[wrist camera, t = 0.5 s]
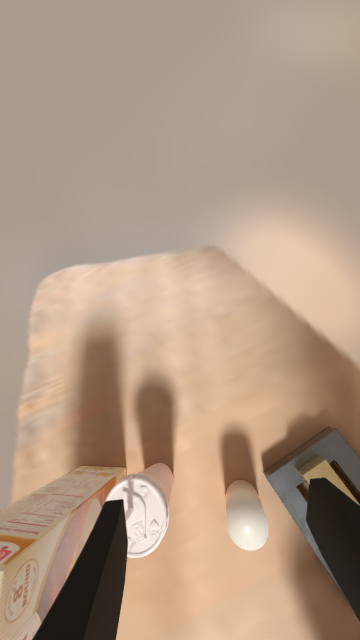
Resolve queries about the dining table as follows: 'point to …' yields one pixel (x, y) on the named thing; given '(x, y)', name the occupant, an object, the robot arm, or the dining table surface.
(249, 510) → the white capsule cylinder
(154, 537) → the smoothie
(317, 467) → the shunt bar
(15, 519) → the coffeecake box
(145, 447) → the dining table surface
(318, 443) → the jig
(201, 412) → the dining table surface
